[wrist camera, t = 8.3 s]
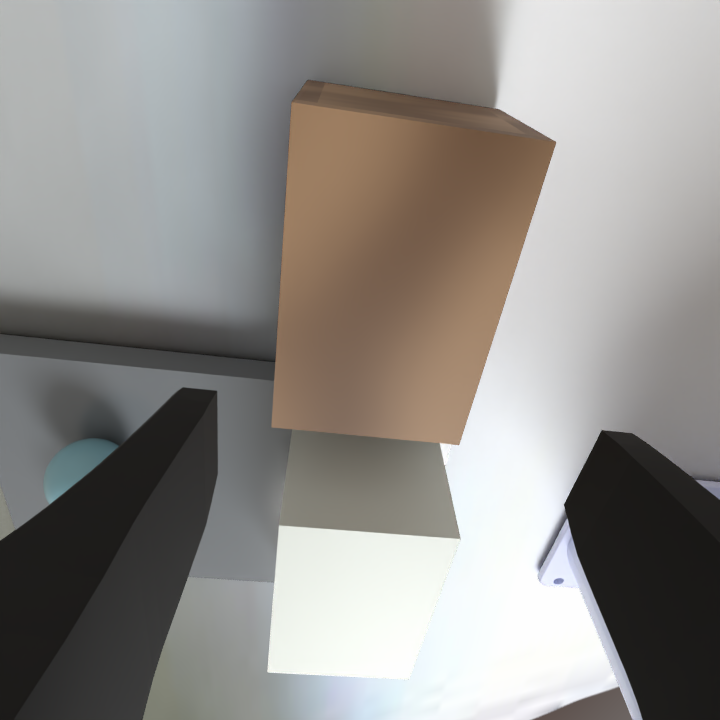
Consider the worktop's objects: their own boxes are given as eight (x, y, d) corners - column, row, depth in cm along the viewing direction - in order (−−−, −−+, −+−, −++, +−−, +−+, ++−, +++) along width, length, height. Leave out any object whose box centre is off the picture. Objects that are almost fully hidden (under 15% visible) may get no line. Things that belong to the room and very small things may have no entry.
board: (459, 381, 21) (465, 399, 20) (404, 569, 27) (406, 591, 26) (-24, 331, 19) (-45, 349, 18) (40, 544, 25) (27, 566, 24)
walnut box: (499, 109, 15) (556, 141, 11) (435, 355, 20) (458, 444, 16) (307, 79, 15) (291, 102, 11) (288, 339, 19) (271, 427, 15)
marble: (142, 425, 20) (112, 484, 17) (148, 481, 21) (121, 541, 19) (60, 418, 20) (17, 476, 17) (72, 475, 21) (35, 536, 19)
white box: (437, 432, 20) (460, 539, 16) (398, 569, 25) (408, 679, 21) (293, 419, 20) (279, 525, 16) (281, 560, 24) (267, 672, 20)
